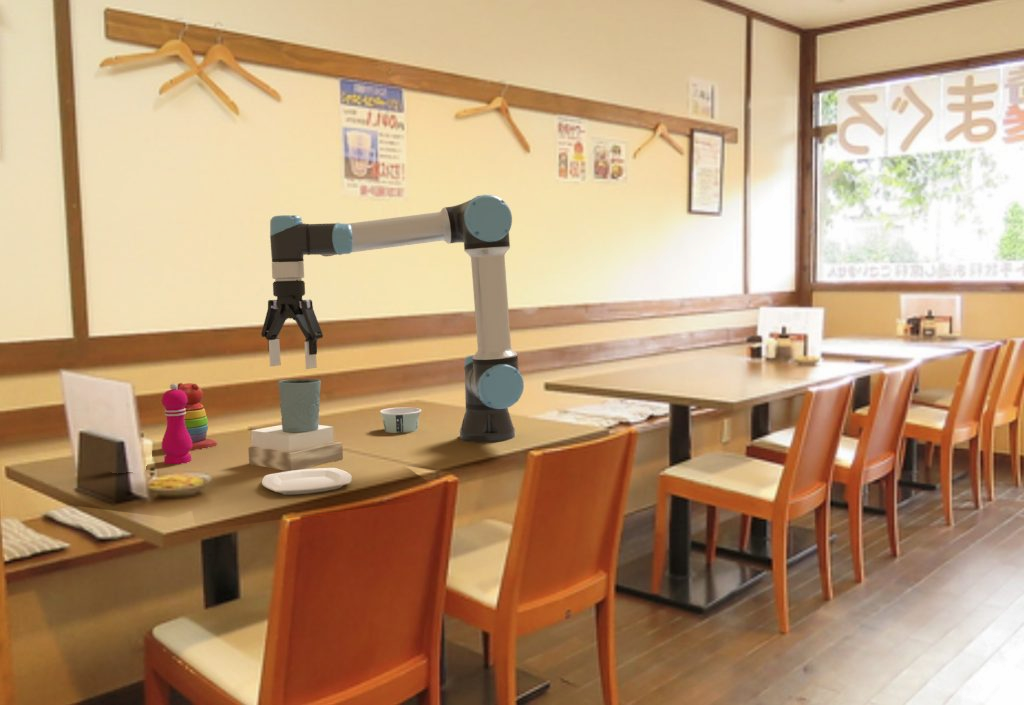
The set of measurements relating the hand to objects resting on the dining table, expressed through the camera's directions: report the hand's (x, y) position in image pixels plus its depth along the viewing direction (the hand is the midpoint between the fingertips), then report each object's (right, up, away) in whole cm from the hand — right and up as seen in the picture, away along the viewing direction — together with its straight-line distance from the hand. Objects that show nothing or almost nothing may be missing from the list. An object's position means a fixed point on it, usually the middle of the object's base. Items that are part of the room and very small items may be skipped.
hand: (292, 367), depth 216 cm
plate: (+9, -26, -22) cm, 35 cm away
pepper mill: (-30, -24, +5) cm, 39 cm away
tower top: (0, -19, +2) cm, 19 cm away
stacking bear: (-33, -23, +24) cm, 47 cm away
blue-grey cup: (+2, -15, 0) cm, 16 cm away
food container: (+21, -20, +41) cm, 50 cm away
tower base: (0, -24, +2) cm, 24 cm away
